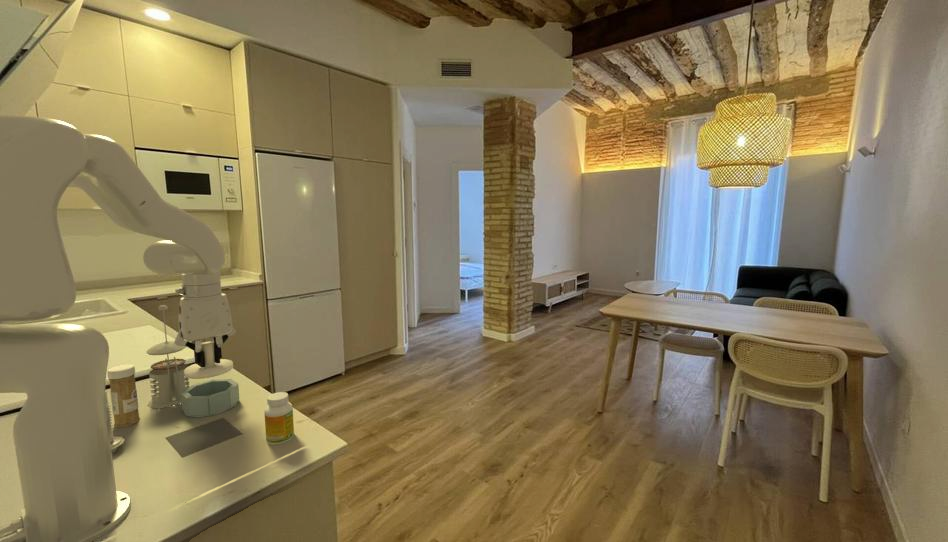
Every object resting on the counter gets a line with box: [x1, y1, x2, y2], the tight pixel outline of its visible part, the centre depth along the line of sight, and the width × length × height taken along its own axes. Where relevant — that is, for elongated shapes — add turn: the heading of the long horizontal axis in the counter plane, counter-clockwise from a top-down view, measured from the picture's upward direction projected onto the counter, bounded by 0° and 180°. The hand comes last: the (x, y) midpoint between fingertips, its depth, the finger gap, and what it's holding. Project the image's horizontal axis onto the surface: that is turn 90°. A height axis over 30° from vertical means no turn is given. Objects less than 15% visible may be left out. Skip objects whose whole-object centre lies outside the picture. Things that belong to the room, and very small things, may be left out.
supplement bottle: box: [264, 391, 295, 445], centre depth 83 cm, size 5×5×10 cm
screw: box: [105, 391, 125, 454], centre depth 77 cm, size 13×5×5 cm
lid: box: [184, 340, 234, 380], centre depth 96 cm, size 10×10×7 cm
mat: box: [165, 417, 244, 458], centre depth 84 cm, size 11×11×1 cm
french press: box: [145, 304, 191, 409], centre depth 99 cm, size 10×12×25 cm
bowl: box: [181, 378, 240, 418], centre depth 97 cm, size 11×11×5 cm
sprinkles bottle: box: [106, 364, 141, 428], centre depth 88 cm, size 5×5×13 cm
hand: (209, 363), depth 96 cm, fingers closed on lid, 2 cm apart
